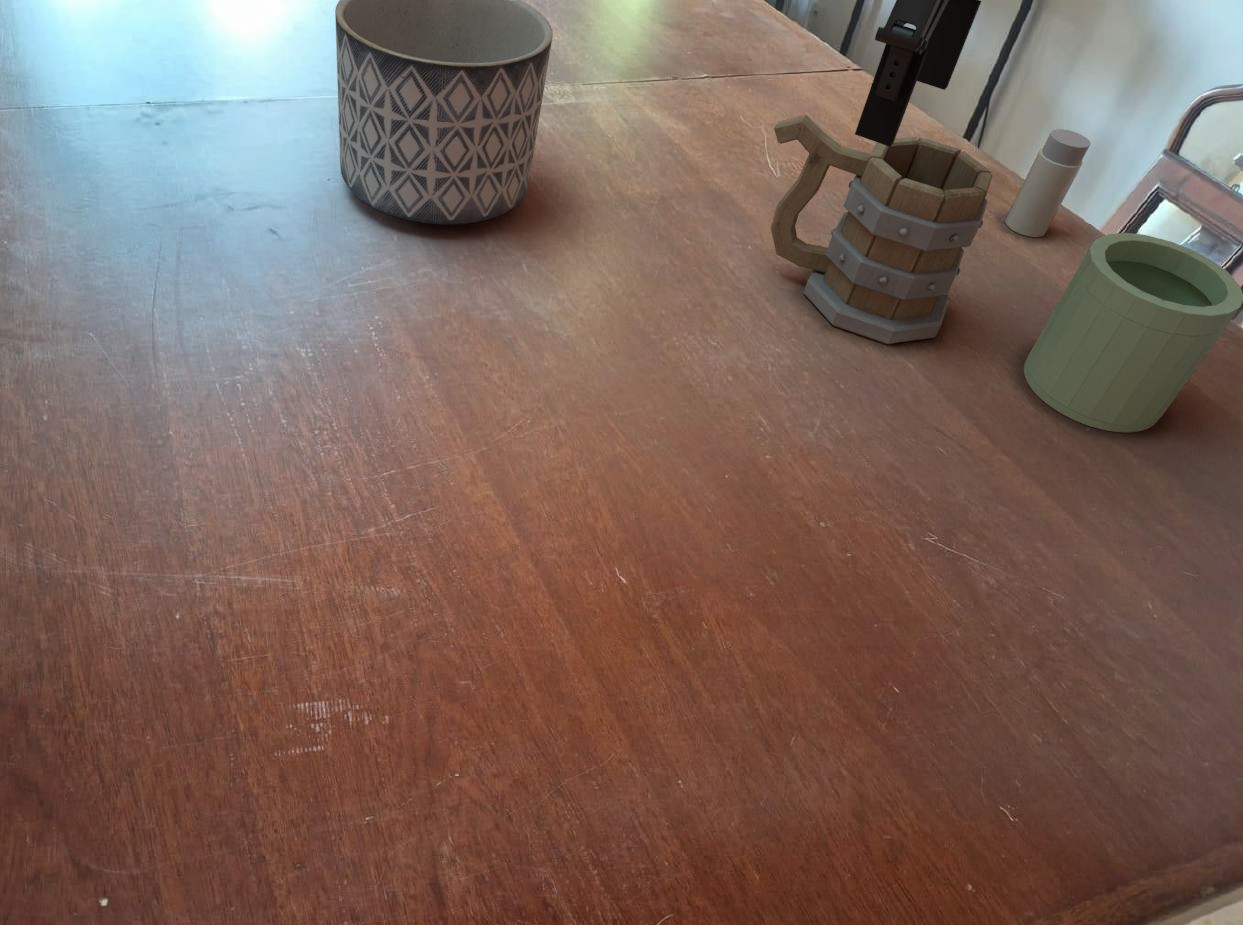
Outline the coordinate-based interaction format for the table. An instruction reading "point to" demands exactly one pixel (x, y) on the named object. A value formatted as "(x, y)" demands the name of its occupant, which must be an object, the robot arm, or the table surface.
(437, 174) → the planter
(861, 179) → the tankard
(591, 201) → the table surface
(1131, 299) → the jar
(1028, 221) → the salt shaker
